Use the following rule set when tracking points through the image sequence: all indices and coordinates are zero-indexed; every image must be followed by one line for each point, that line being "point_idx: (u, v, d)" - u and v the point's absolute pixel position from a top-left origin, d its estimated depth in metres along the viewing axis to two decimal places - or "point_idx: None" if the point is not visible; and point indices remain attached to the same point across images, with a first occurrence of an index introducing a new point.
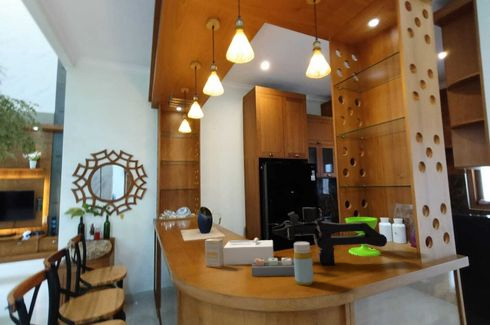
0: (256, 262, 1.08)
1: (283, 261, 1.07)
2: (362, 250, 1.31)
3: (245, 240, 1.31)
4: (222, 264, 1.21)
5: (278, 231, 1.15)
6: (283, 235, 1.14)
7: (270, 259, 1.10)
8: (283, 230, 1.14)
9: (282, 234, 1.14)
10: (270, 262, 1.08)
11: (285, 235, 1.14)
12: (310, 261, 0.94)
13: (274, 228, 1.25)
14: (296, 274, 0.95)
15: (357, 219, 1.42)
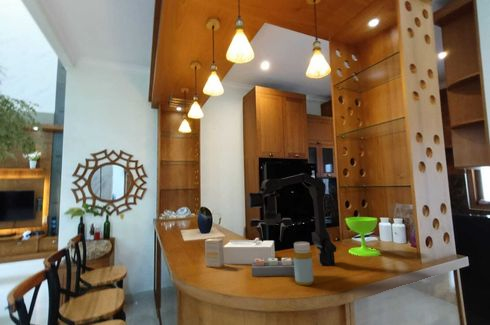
0: (256, 262, 1.08)
1: (283, 261, 1.07)
2: (362, 250, 1.31)
3: (245, 240, 1.32)
4: (222, 264, 1.21)
5: (282, 235, 1.10)
6: None
7: (270, 259, 1.10)
8: None
9: None
10: (270, 262, 1.08)
11: None
12: (310, 261, 0.94)
13: None
14: (296, 274, 0.95)
15: (357, 219, 1.42)
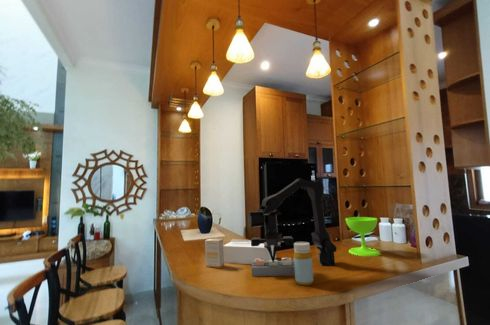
0: (256, 262, 1.08)
1: (283, 261, 1.07)
2: (362, 250, 1.31)
3: (245, 240, 1.32)
4: (222, 264, 1.21)
5: (275, 254, 1.09)
6: None
7: (270, 261, 1.10)
8: None
9: None
10: (270, 264, 1.08)
11: None
12: (310, 261, 0.94)
13: None
14: (296, 274, 0.95)
15: (357, 219, 1.42)
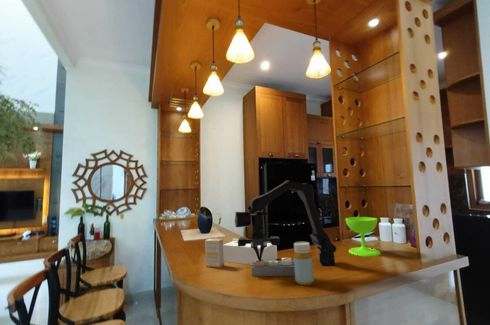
0: (256, 263, 1.08)
1: (283, 261, 1.07)
2: (362, 250, 1.31)
3: None
4: (222, 264, 1.21)
5: None
6: None
7: (270, 262, 1.10)
8: None
9: None
10: (270, 265, 1.08)
11: None
12: (310, 261, 0.94)
13: None
14: (296, 274, 0.95)
15: (357, 219, 1.42)
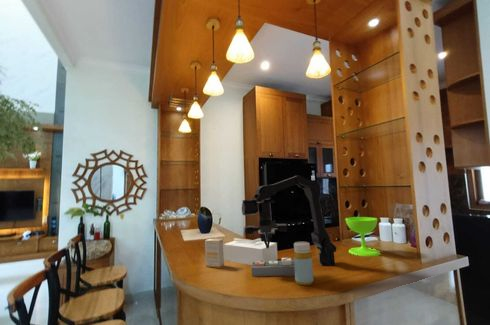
0: (256, 265, 1.08)
1: (283, 261, 1.07)
2: (362, 250, 1.31)
3: (246, 240, 1.33)
4: (222, 264, 1.21)
5: (269, 241, 1.10)
6: None
7: (270, 262, 1.10)
8: None
9: None
10: (270, 265, 1.08)
11: None
12: (310, 261, 0.94)
13: None
14: (296, 274, 0.95)
15: (357, 219, 1.42)
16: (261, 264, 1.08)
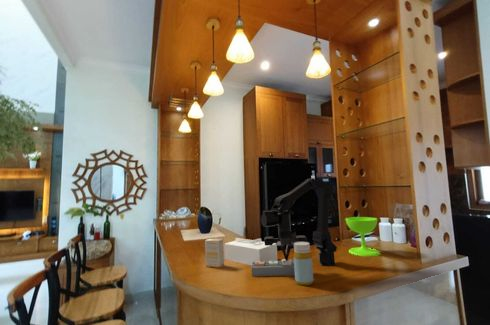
0: (256, 265, 1.08)
1: (283, 263, 1.07)
2: (362, 250, 1.31)
3: (246, 239, 1.33)
4: (222, 264, 1.21)
5: None
6: None
7: (270, 262, 1.10)
8: None
9: None
10: (270, 265, 1.08)
11: None
12: (310, 261, 0.94)
13: None
14: (296, 274, 0.95)
15: (357, 219, 1.42)
16: (261, 264, 1.08)
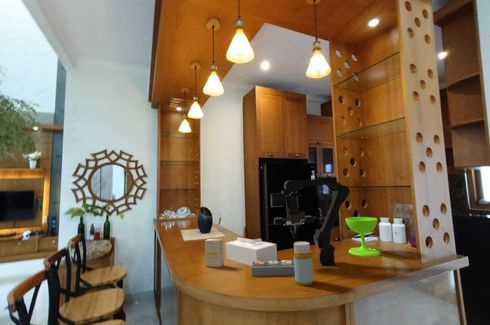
0: (256, 265, 1.08)
1: (283, 264, 1.07)
2: (362, 250, 1.31)
3: (247, 239, 1.33)
4: (222, 264, 1.21)
5: None
6: None
7: (270, 262, 1.10)
8: None
9: None
10: (270, 265, 1.08)
11: None
12: (310, 261, 0.94)
13: None
14: (296, 274, 0.95)
15: (357, 219, 1.42)
16: (261, 264, 1.08)
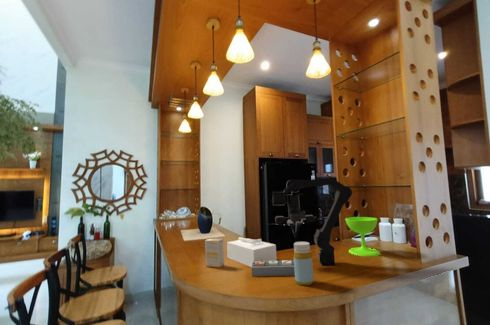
0: (256, 265, 1.08)
1: (283, 264, 1.07)
2: (362, 250, 1.31)
3: (248, 239, 1.33)
4: (222, 264, 1.21)
5: None
6: None
7: (270, 262, 1.10)
8: None
9: None
10: (270, 265, 1.08)
11: None
12: (310, 261, 0.94)
13: None
14: (296, 274, 0.95)
15: (357, 219, 1.42)
16: (261, 264, 1.08)
